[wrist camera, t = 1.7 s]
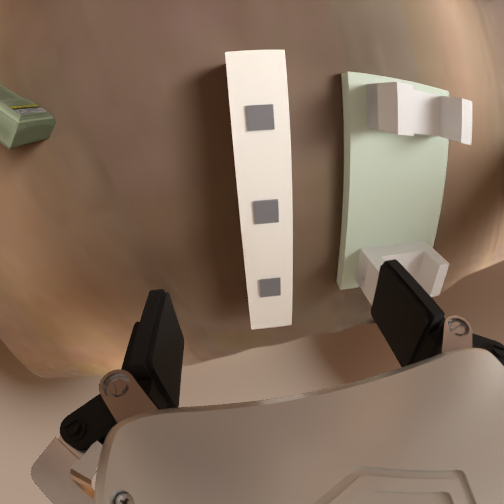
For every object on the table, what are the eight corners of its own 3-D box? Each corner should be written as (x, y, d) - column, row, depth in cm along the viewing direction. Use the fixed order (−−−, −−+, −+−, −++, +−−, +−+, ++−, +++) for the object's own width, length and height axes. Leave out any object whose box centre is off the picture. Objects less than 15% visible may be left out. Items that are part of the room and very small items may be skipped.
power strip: (273, 61, 19) (285, 49, 15) (283, 294, 31) (291, 326, 26) (226, 63, 19) (225, 51, 14) (248, 298, 31) (251, 330, 26)
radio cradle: (440, 90, 20) (482, 95, 14) (419, 268, 31) (447, 299, 25) (341, 73, 19) (375, 65, 14) (336, 282, 30) (356, 320, 25)
